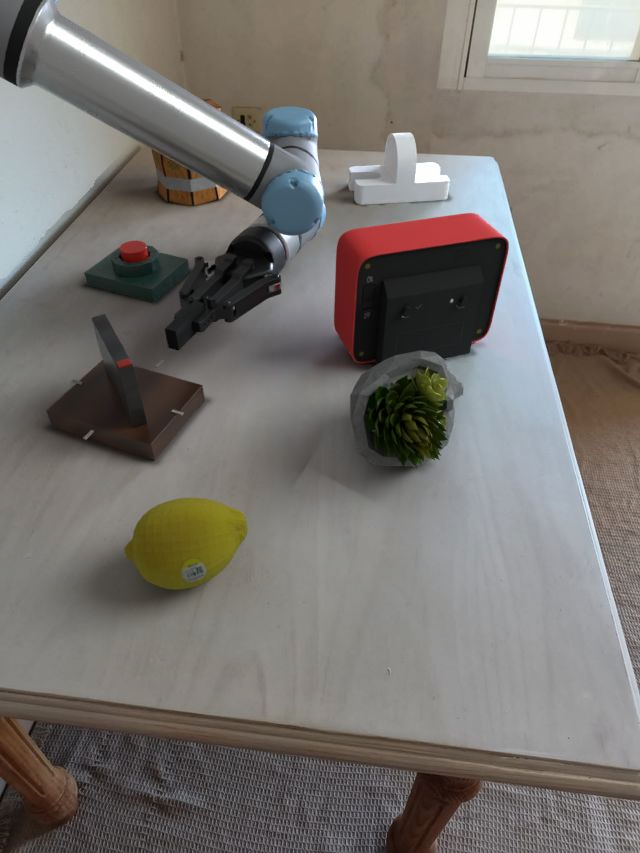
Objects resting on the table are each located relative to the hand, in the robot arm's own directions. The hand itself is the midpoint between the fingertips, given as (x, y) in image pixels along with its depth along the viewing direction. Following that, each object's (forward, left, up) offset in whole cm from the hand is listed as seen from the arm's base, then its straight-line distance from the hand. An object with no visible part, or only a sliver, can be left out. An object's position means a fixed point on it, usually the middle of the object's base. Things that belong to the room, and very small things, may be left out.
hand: (171, 339), depth 72 cm
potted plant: (+29, +1, -8) cm, 30 cm away
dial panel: (-3, -6, -8) cm, 10 cm away
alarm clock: (+24, +21, -8) cm, 33 cm away
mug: (-31, +56, -8) cm, 65 cm away
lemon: (+15, -22, -8) cm, 27 cm away
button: (-20, +21, -4) cm, 30 cm away
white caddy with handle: (+7, +69, -8) cm, 70 cm away
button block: (-20, +21, -8) cm, 30 cm away
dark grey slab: (-3, -6, -5) cm, 9 cm away
